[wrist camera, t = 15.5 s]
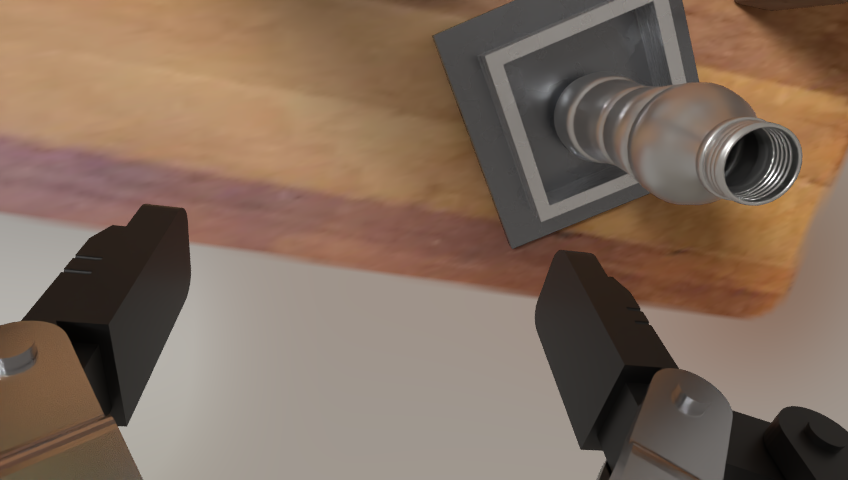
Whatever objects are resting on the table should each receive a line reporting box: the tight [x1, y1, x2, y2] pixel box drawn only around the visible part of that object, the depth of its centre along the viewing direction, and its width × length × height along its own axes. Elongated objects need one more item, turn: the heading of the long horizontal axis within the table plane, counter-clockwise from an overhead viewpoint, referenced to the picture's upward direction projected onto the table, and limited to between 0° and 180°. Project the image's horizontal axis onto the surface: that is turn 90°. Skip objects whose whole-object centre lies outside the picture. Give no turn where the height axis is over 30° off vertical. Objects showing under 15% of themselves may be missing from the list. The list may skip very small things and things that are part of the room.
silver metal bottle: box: [554, 71, 802, 205], centre depth 32 cm, size 6×7×20 cm
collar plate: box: [432, 0, 699, 249], centre depth 41 cm, size 18×18×4 cm
